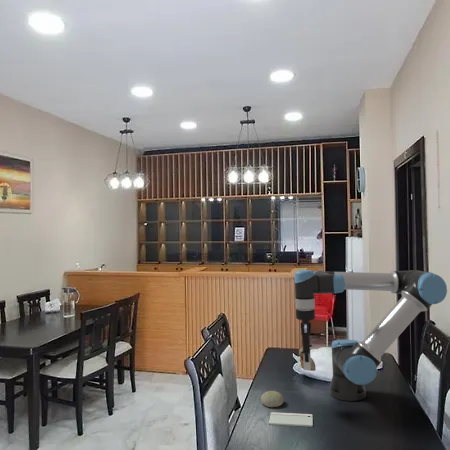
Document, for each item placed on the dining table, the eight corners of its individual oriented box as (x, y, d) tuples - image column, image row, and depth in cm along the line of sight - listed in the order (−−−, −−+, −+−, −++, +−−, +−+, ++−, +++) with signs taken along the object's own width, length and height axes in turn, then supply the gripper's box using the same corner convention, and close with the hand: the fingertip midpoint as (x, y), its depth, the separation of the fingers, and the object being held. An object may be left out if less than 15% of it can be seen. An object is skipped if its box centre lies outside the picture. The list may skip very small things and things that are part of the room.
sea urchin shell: (285, 404, 167) (270, 389, 168) (271, 417, 168) (257, 403, 169) (286, 395, 176) (272, 381, 177) (273, 408, 177) (260, 394, 178)
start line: (312, 415, 160) (312, 414, 160) (312, 416, 159) (312, 416, 159) (271, 413, 164) (271, 412, 164) (270, 414, 162) (270, 413, 162)
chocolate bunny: (311, 363, 170) (310, 339, 170) (317, 370, 162) (316, 345, 162) (298, 364, 170) (297, 340, 169) (303, 371, 162) (302, 346, 162)
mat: (312, 418, 158) (312, 416, 158) (312, 426, 151) (312, 425, 151) (270, 416, 161) (270, 414, 161) (268, 424, 154) (268, 422, 154)
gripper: (296, 304, 177) (298, 358, 176) (294, 313, 157) (296, 374, 157) (314, 304, 175) (316, 359, 175) (314, 314, 156) (317, 375, 155)
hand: (307, 366), depth 166 cm, fingers closed on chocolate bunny, 7 cm apart
